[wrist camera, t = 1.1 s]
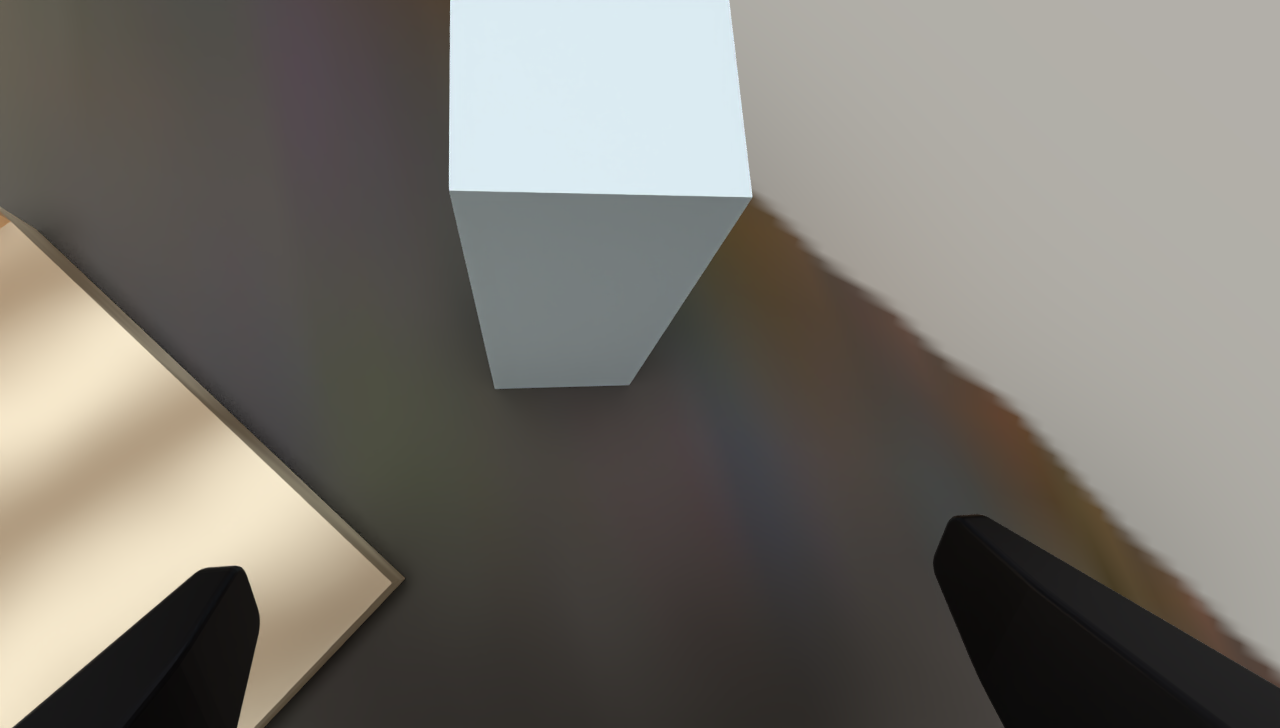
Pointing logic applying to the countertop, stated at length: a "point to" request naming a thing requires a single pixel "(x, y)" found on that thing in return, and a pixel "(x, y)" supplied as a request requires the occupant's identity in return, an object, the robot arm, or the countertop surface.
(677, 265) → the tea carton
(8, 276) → the shelf board
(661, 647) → the countertop surface
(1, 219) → the price rail
